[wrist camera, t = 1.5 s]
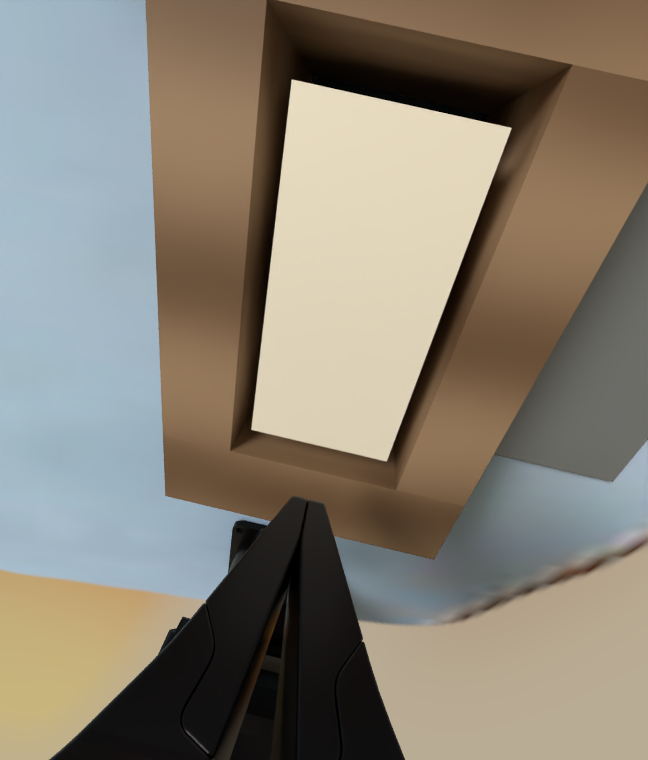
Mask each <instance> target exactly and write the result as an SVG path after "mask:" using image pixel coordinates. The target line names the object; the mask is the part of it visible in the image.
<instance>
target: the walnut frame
mask: <svg viewBox="0 0 648 760" xmlns="http://www.w3.org/2000/svg"><path fill="white" fill-rule="evenodd" d="M146 20H147V45H148V70H149V95H150V120H151V145H152V170H153V195H154V220H155V245H156V270H157V295H158V320H159V346H160V371H161V396H162V421H163V446H164V471H165V496H168V497H172V498H177V499H181V500H185V501H189V502H193V503H198V504H202V505H206V506H210V507H214V508H219V509H223V510H227V511H231V512H235V513H240V514H244V515H248V516H252V517H257V518H261V519H265V520H269V521H272V520H273V518H274V517H275V516H276V515H277V514H278V512H279V511H280V510H281V509H282V507H283V506H284V505H285V504H286V503H287V501H288V500H289V499H290V498H291V497H292V496H299V497H303V498H306V499H307V500H308V501H309V500H310V499H312V500H316V501H320V502H323V503H324V504H325V507H326V511H327V514H328V518H329V521H330V525H331V528H332V532H333V535H334V536H337V537H341V538H345V539H349V540H353V541H358V542H362V543H366V544H370V545H375V546H379V547H383V548H387V549H391V550H396V551H400V552H404V553H408V554H412V555H417V556H421V557H425V558H429V559H433V560H434V559H435V557H436V555H437V554H438V552H439V550H440V548H441V546H442V545H443V543H444V541H445V539H446V538H447V536H448V534H449V532H450V531H451V529H452V527H453V525H454V524H455V522H456V520H457V518H458V516H459V515H460V513H461V511H462V509H463V508H464V506H465V504H466V502H467V501H468V499H469V497H470V495H471V494H472V492H473V490H474V488H475V486H476V485H477V483H478V481H479V479H480V478H481V476H482V474H483V472H484V471H485V469H486V467H487V465H488V463H489V462H490V460H491V458H492V456H493V455H494V453H495V451H496V449H497V448H498V446H499V444H500V442H501V441H502V439H503V437H504V435H505V433H506V432H507V430H508V428H509V426H510V425H511V423H512V421H513V419H514V418H515V416H516V414H517V412H518V411H519V409H520V407H521V405H522V403H523V402H524V400H525V398H526V396H527V395H528V393H529V391H530V389H531V388H532V386H533V384H534V382H535V381H536V379H537V377H538V375H539V373H540V372H541V370H542V368H543V366H544V365H545V363H546V361H547V359H548V358H549V356H550V354H551V352H552V350H553V349H554V347H555V345H556V343H557V342H558V340H559V338H560V336H561V335H562V333H563V331H564V329H565V328H566V326H567V324H568V322H569V320H570V319H571V317H572V315H573V313H574V312H575V310H576V308H577V306H578V305H579V303H580V301H581V299H582V298H583V296H584V294H585V292H586V290H587V289H588V287H589V285H590V283H591V282H592V280H593V278H594V276H595V275H596V273H597V271H598V269H599V268H600V266H601V264H602V262H603V260H604V259H605V257H606V255H607V253H608V252H609V250H610V248H611V246H612V245H613V243H614V241H615V239H616V237H617V236H618V234H619V232H620V230H621V229H622V227H623V225H624V223H625V222H626V220H627V218H628V216H629V215H630V213H631V211H632V209H633V207H634V206H635V204H636V202H637V200H638V199H639V197H640V195H641V193H642V192H643V190H644V188H645V186H646V185H647V183H648V0H146ZM312 76H313V77H318V78H322V79H327V80H331V81H336V82H340V83H345V84H349V85H354V86H358V87H363V88H368V89H372V90H377V91H381V92H386V93H390V94H395V95H399V96H404V97H408V98H413V99H418V100H422V101H427V102H431V103H436V104H440V105H445V106H449V107H454V108H458V109H463V110H467V111H472V112H477V113H481V114H486V115H489V116H488V119H487V123H491V124H496V125H500V126H505V127H510V128H512V129H511V131H510V134H509V137H508V139H507V142H506V145H505V147H504V150H503V153H502V155H501V158H500V161H499V163H498V166H497V169H496V171H495V174H494V177H493V179H492V182H491V185H490V187H489V190H488V193H487V195H486V198H485V201H484V203H483V206H482V209H481V211H480V214H479V217H478V219H477V222H476V225H475V227H474V230H473V233H472V235H471V238H470V241H469V243H468V246H467V249H466V251H465V254H464V257H463V259H462V262H461V265H460V267H459V270H458V273H457V275H456V278H455V281H454V283H453V286H452V289H451V291H450V294H449V297H448V299H447V302H446V305H445V307H444V310H443V313H442V315H441V318H440V321H439V323H438V326H437V329H436V331H435V334H434V337H433V339H432V342H431V345H430V347H429V350H428V353H427V355H426V358H425V361H424V363H423V366H422V369H421V371H420V374H419V377H418V379H417V382H416V385H415V387H414V390H413V393H412V395H411V398H410V401H409V403H408V406H407V409H406V411H405V414H404V417H403V419H402V422H401V425H400V427H399V430H398V433H397V435H396V438H395V441H394V443H393V446H392V449H391V451H390V454H389V457H388V459H387V461H382V460H378V459H374V458H370V457H365V456H361V455H357V454H352V453H348V452H344V451H340V450H335V449H331V448H327V447H323V446H318V445H314V444H310V443H305V442H301V441H297V440H293V439H288V438H284V437H280V436H276V435H271V434H267V433H263V432H258V431H254V430H251V428H252V419H253V411H254V402H255V393H256V385H257V376H258V368H259V359H260V350H261V342H262V333H263V324H264V316H265V307H266V298H267V290H268V281H269V272H270V264H271V255H272V246H273V238H274V229H275V221H276V212H277V203H278V195H279V186H280V177H281V169H282V160H283V151H284V143H285V134H286V125H287V117H288V108H289V99H290V91H291V82H292V80H296V81H301V82H306V83H310V84H311V78H312Z"/></svg>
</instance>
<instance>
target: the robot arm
mask: <svg viewBox="0 0 648 760" xmlns="http://www.w3.org/2000/svg"><path fill="white" fill-rule="evenodd" d="M362 640H363V637H362V634H361V630H360V626H359V623H358V619H357V616H356V612H355V609H354V605H353V602H352V598H351V595H350V591H349V588H348V584H347V581H346V577H345V574H344V570H343V567H342V563H341V560H340V556H339V553H338V549H337V546H336V542H335V539H334V535H333V532H332V528H331V525H330V521H329V518H328V514H327V511H326V507H325V504H324V503H323V502H320V501H316V500H312V499H310V500H309V501H308V500H307V499H306V498H303V497H299V496H292V497H291V498H290V499H289V500H288V501H287V503H286V504H285V505H284V506H283V507H282V509H281V510H280V511H279V512H278V514H277V515H276V516H275V517H274V518H273V520H272V521H271V522H270V523H269V525H268V526H267V527H266V526H262V525H258V524H253V523H249V522H245V521H236V522H235V524H234V527H233V530H232V540H231V550H230V560H229V570H228V574H227V576H226V577H225V578H224V579H223V580H222V582H221V583H220V584H219V585H218V587H217V588H216V589H215V590H214V591H213V593H212V594H211V595H210V596H209V597H208V599H207V600H206V604H203V605H202V606H201V607H200V608H199V609H198V611H197V612H196V613H195V614H194V615H193V617H192V618H191V619H190V618H186V617H182V619H181V621H180V623H179V625H178V627H177V628H176V629H171V630H169V632H168V634H167V637H166V639H165V641H164V643H163V645H162V647H161V650H160V652H159V654H158V656H157V657H156V658H155V659H154V660H153V661H152V662H151V663H150V664H149V665H148V666H147V667H146V668H145V669H144V670H143V671H142V672H141V673H140V674H139V675H138V676H137V677H136V678H135V679H134V680H133V681H132V682H131V683H130V684H129V685H128V686H127V687H126V688H125V689H124V690H123V691H122V692H121V693H120V694H119V695H118V696H117V697H115V698H114V699H113V700H112V702H111V703H109V704H108V706H106V707H105V708H104V709H103V710H102V711H101V712H100V713H99V714H98V715H97V716H96V717H95V718H94V719H93V720H92V721H91V723H89V724H88V725H87V726H86V727H85V728H84V729H83V730H82V731H81V732H80V733H79V734H78V735H77V736H76V737H75V738H74V739H72V741H70V742H69V743H68V744H67V745H66V746H65V747H64V748H62V749H61V750H60V751H59V752H58V753H57V754H55V755H54V756H53V757H52V758H51V759H50V760H405V758H404V756H403V753H402V751H401V748H400V746H399V743H398V741H397V738H396V735H395V733H394V731H393V728H392V726H391V723H390V720H389V717H388V714H387V712H386V710H385V706H384V703H383V701H382V698H381V696H380V693H379V690H378V686H377V684H376V680H375V677H374V674H373V671H372V667H371V664H370V661H369V657H368V654H367V651H366V647H365V643H364V642H362Z"/></svg>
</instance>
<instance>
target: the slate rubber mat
mask: <svg viewBox="0 0 648 760" xmlns="http://www.w3.org/2000/svg"><path fill="white" fill-rule="evenodd" d="M647 440H648V183H647V185H646V186H645V188H644V190H643V192H642V193H641V195H640V197H639V199H638V200H637V202H636V204H635V206H634V207H633V209H632V211H631V213H630V215H629V216H628V218H627V220H626V222H625V223H624V225H623V227H622V229H621V230H620V232H619V234H618V236H617V237H616V239H615V241H614V243H613V245H612V246H611V248H610V250H609V252H608V253H607V255H606V257H605V259H604V260H603V262H602V264H601V266H600V268H599V269H598V271H597V273H596V275H595V276H594V278H593V280H592V282H591V283H590V285H589V287H588V289H587V290H586V292H585V294H584V296H583V298H582V299H581V301H580V303H579V305H578V306H577V308H576V310H575V312H574V313H573V315H572V317H571V319H570V320H569V322H568V324H567V326H566V328H565V329H564V331H563V333H562V335H561V336H560V338H559V340H558V342H557V343H556V345H555V347H554V349H553V350H552V352H551V354H550V356H549V358H548V359H547V361H546V363H545V365H544V366H543V368H542V370H541V372H540V373H539V375H538V377H537V379H536V381H535V382H534V384H533V386H532V388H531V389H530V391H529V393H528V395H527V396H526V398H525V400H524V402H523V403H522V405H521V407H520V409H519V411H518V412H517V414H516V416H515V418H514V419H513V421H512V423H511V425H510V426H509V428H508V430H507V432H506V433H505V435H504V437H503V439H502V441H501V442H500V444H499V446H498V448H497V449H496V451H495V453H494V454H495V455H499V456H504V457H508V458H512V459H517V460H521V461H525V462H529V463H534V464H538V465H542V466H547V467H551V468H555V469H559V470H564V471H568V472H572V473H577V474H581V475H585V476H589V477H594V478H598V479H602V480H607V481H611V482H613V481H614V480H615V478H616V477H617V476H618V475H619V474H620V472H621V471H622V470H623V469H624V468H625V466H626V465H627V464H628V463H629V462H630V460H631V459H632V458H633V457H634V455H635V454H636V453H637V452H638V451H639V449H640V448H641V447H642V446H643V445H644V443H645V442H646V441H647Z"/></svg>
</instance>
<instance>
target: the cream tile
mask: <svg viewBox="0 0 648 760" xmlns="http://www.w3.org/2000/svg"><path fill="white" fill-rule="evenodd" d="M511 129H512V128H510V127H505V126H500V125H496V124H491V123H487V122H482V121H478V120H473V119H469V118H464V117H460V116H455V115H451V114H446V113H442V112H437V111H432V110H428V109H423V108H419V107H414V106H410V105H405V104H401V103H396V102H392V101H387V100H383V99H378V98H374V97H369V96H364V95H360V94H355V93H351V92H346V91H342V90H337V89H333V88H328V87H324V86H319V85H315V84H310V83H306V82H301V81H296V80H292V82H291V91H290V99H289V108H288V117H287V125H286V134H285V143H284V151H283V160H282V169H281V177H280V186H279V195H278V203H277V212H276V221H275V229H274V238H273V246H272V255H271V264H270V272H269V281H268V290H267V298H266V307H265V316H264V324H263V333H262V342H261V350H260V359H259V368H258V376H257V385H256V393H255V402H254V411H253V419H252V428H251V430H254V431H258V432H263V433H267V434H271V435H276V436H280V437H284V438H288V439H293V440H297V441H301V442H305V443H310V444H314V445H318V446H323V447H327V448H331V449H335V450H340V451H344V452H348V453H352V454H357V455H361V456H365V457H370V458H374V459H378V460H382V461H387V459H388V457H389V454H390V451H391V449H392V446H393V443H394V441H395V438H396V435H397V433H398V430H399V427H400V425H401V422H402V419H403V417H404V414H405V411H406V409H407V406H408V403H409V401H410V398H411V395H412V393H413V390H414V387H415V385H416V382H417V379H418V377H419V374H420V371H421V369H422V366H423V363H424V361H425V358H426V355H427V353H428V350H429V347H430V345H431V342H432V339H433V337H434V334H435V331H436V329H437V326H438V323H439V321H440V318H441V315H442V313H443V310H444V307H445V305H446V302H447V299H448V297H449V294H450V291H451V289H452V286H453V283H454V281H455V278H456V275H457V273H458V270H459V267H460V265H461V262H462V259H463V257H464V254H465V251H466V249H467V246H468V243H469V241H470V238H471V235H472V233H473V230H474V227H475V225H476V222H477V219H478V217H479V214H480V211H481V209H482V206H483V203H484V201H485V198H486V195H487V193H488V190H489V187H490V185H491V182H492V179H493V177H494V174H495V171H496V169H497V166H498V163H499V161H500V158H501V155H502V153H503V150H504V147H505V145H506V142H507V139H508V137H509V134H510V131H511Z"/></svg>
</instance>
